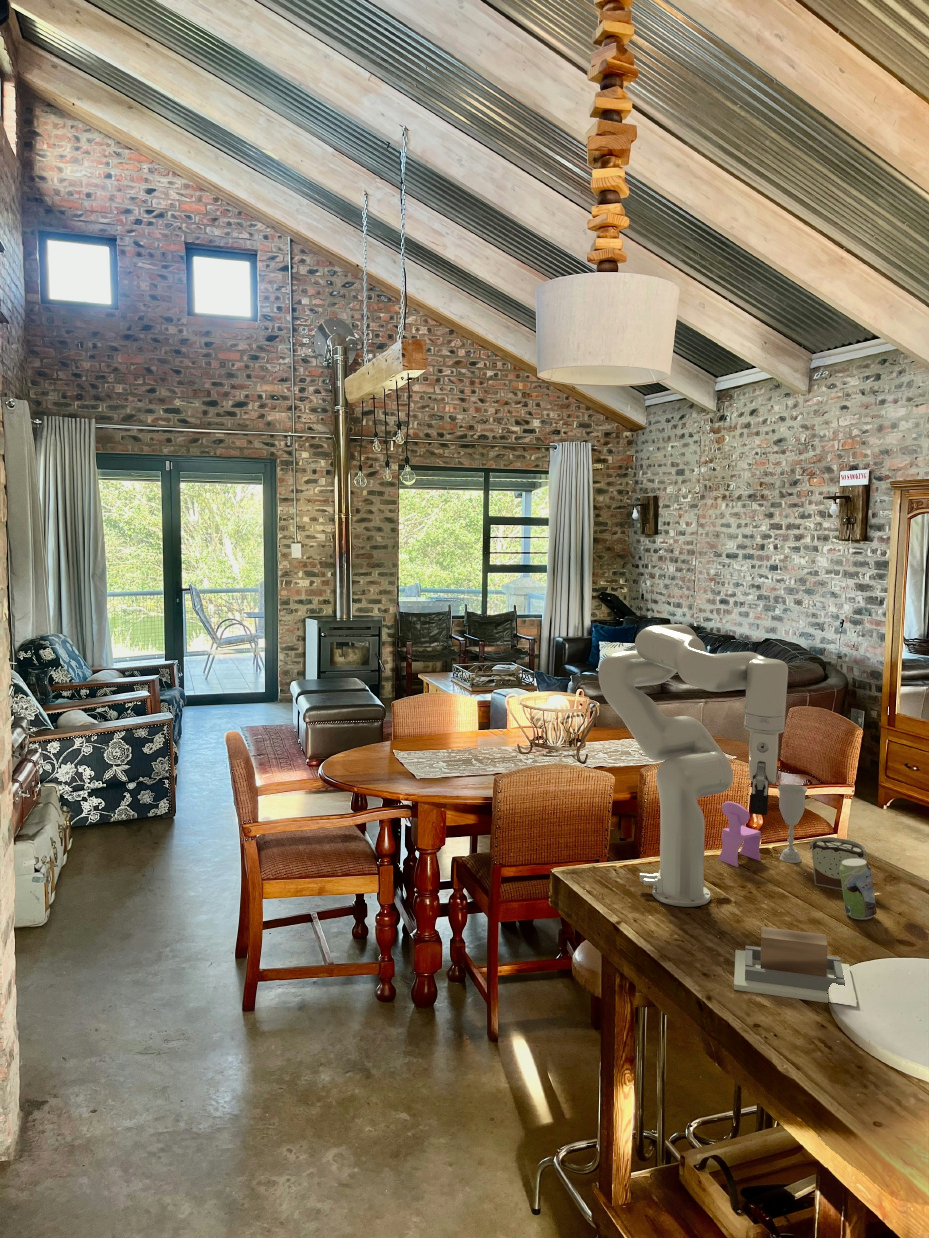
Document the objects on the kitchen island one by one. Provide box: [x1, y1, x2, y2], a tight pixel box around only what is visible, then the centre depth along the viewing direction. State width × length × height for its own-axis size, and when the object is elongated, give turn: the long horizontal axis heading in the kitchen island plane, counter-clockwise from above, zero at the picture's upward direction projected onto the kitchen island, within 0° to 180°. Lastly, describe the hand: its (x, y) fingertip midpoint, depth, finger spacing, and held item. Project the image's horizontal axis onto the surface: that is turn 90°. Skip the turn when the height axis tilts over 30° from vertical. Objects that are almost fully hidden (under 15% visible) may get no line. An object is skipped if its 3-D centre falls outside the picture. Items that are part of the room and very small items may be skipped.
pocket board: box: [733, 945, 851, 1004], centre depth 162 cm, size 20×14×3 cm
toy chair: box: [717, 801, 762, 868], centre depth 222 cm, size 8×9×15 cm
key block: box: [760, 926, 829, 977], centre depth 162 cm, size 4×11×7 cm, turn 72°
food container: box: [808, 837, 868, 890], centre depth 206 cm, size 12×6×10 cm, turn 58°
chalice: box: [777, 783, 808, 864], centre depth 222 cm, size 7×7×18 cm
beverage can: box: [840, 858, 878, 920], centre depth 189 cm, size 6×7×12 cm
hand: (758, 806), depth 178 cm, fingers open, 9 cm apart
